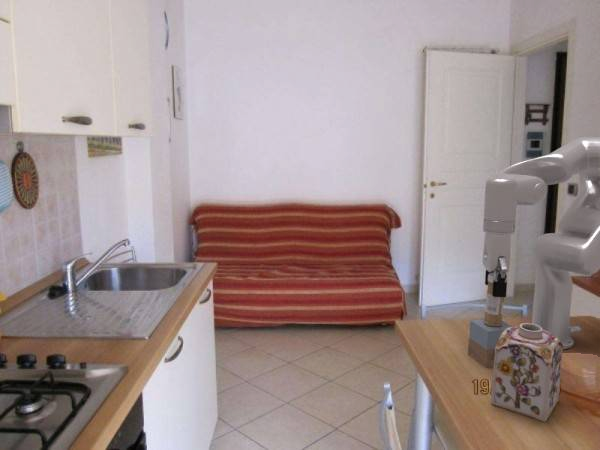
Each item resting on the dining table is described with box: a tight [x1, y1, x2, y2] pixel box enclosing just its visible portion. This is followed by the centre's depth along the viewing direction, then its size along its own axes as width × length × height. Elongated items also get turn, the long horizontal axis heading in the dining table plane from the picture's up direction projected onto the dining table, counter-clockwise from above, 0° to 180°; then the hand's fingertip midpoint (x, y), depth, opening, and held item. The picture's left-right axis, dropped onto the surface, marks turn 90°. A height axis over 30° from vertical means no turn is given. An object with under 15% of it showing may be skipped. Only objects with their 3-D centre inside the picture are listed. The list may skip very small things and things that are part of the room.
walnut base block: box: [467, 337, 495, 369], centre depth 132 cm, size 8×8×5 cm
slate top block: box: [468, 318, 513, 350], centre depth 131 cm, size 8×8×5 cm
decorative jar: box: [490, 322, 564, 423], centre depth 109 cm, size 12×12×18 cm
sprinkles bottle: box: [483, 273, 505, 327], centre depth 129 cm, size 5×5×14 cm
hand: (495, 290), depth 129 cm, fingers open, 9 cm apart
